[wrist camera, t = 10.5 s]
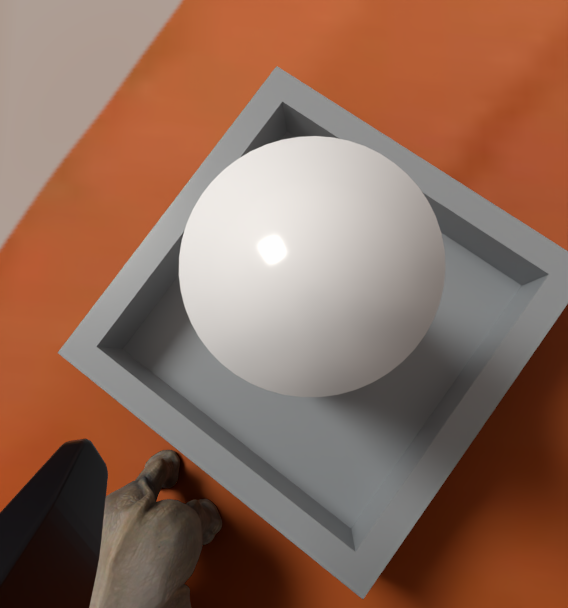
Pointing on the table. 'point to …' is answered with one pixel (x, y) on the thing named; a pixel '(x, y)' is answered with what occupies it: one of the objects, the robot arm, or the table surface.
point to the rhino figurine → (151, 541)
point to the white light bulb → (312, 266)
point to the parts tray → (337, 408)
